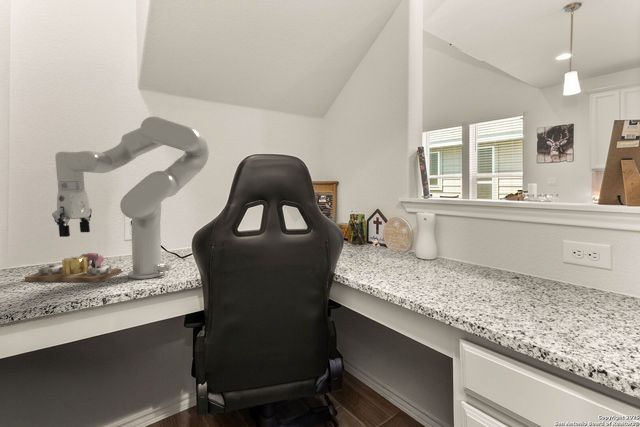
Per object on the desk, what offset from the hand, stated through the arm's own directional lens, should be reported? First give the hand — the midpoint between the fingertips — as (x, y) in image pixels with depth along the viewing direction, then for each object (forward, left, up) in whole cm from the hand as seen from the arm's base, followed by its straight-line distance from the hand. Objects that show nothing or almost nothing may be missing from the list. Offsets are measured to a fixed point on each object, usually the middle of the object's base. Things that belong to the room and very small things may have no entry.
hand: (75, 234), depth 115 cm
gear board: (+1, 0, -16) cm, 16 cm away
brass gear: (+1, 0, -14) cm, 14 cm away
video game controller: (+5, -12, -16) cm, 21 cm away
